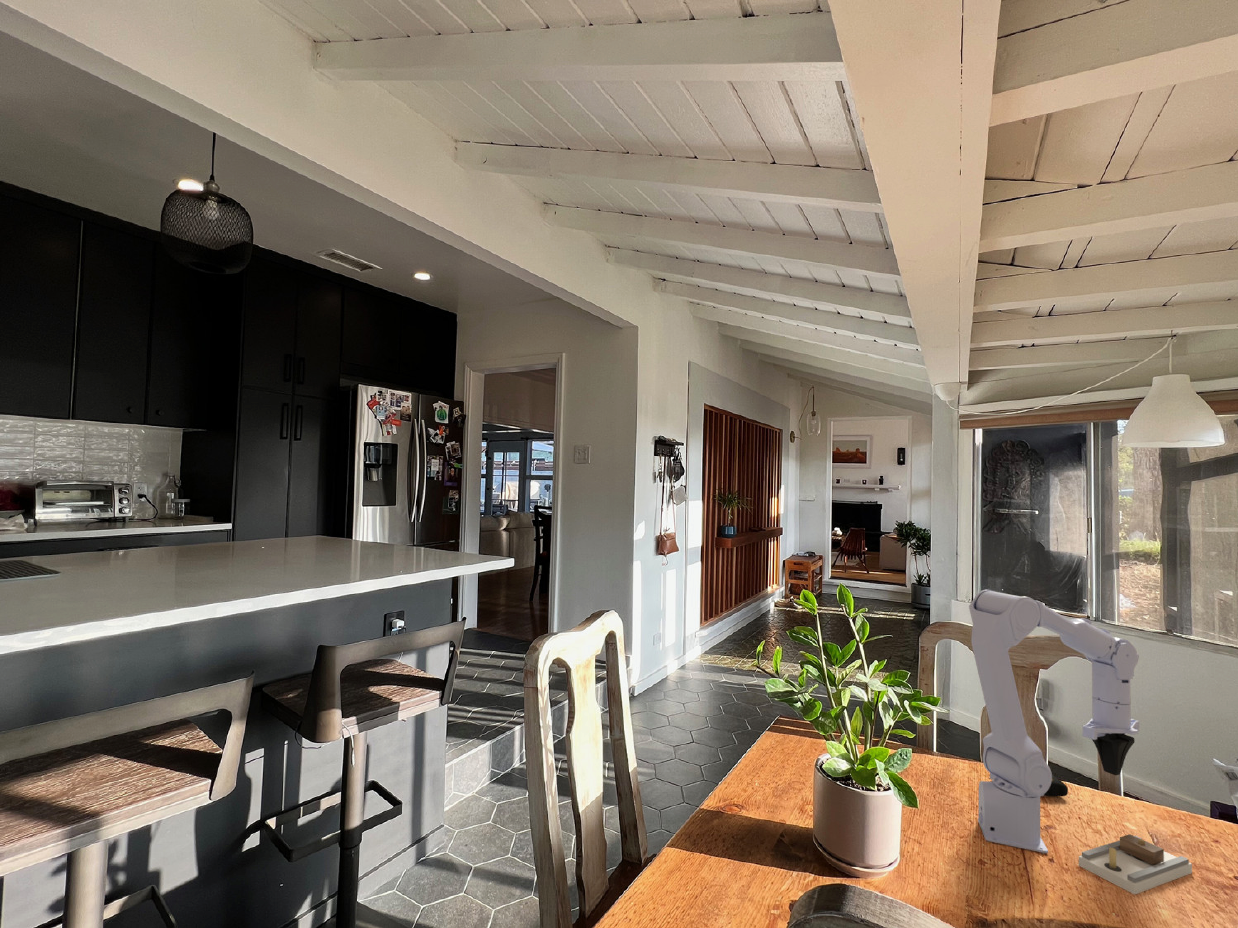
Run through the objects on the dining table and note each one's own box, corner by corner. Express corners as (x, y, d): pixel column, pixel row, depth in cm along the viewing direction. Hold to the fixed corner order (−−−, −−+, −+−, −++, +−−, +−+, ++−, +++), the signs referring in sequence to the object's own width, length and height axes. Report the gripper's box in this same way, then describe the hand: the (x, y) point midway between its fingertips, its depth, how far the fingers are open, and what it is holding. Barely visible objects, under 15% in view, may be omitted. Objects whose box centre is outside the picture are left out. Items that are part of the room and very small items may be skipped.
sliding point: (1153, 864, 100) (1153, 849, 100) (1119, 849, 104) (1119, 834, 104) (1163, 861, 101) (1163, 845, 101) (1130, 845, 105) (1129, 830, 105)
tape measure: (1069, 802, 125) (1069, 783, 125) (1033, 798, 126) (1033, 780, 126) (1051, 786, 132) (1051, 769, 132) (1017, 783, 133) (1017, 766, 133)
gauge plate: (1134, 894, 95) (1134, 865, 95) (1078, 865, 102) (1078, 838, 102) (1192, 872, 101) (1191, 845, 101) (1135, 846, 108) (1135, 821, 109)
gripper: (1112, 710, 109) (1113, 787, 109) (1157, 702, 115) (1159, 776, 114) (1070, 698, 116) (1070, 771, 115) (1115, 691, 122) (1116, 760, 121)
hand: (1111, 772), depth 115 cm, fingers closed
